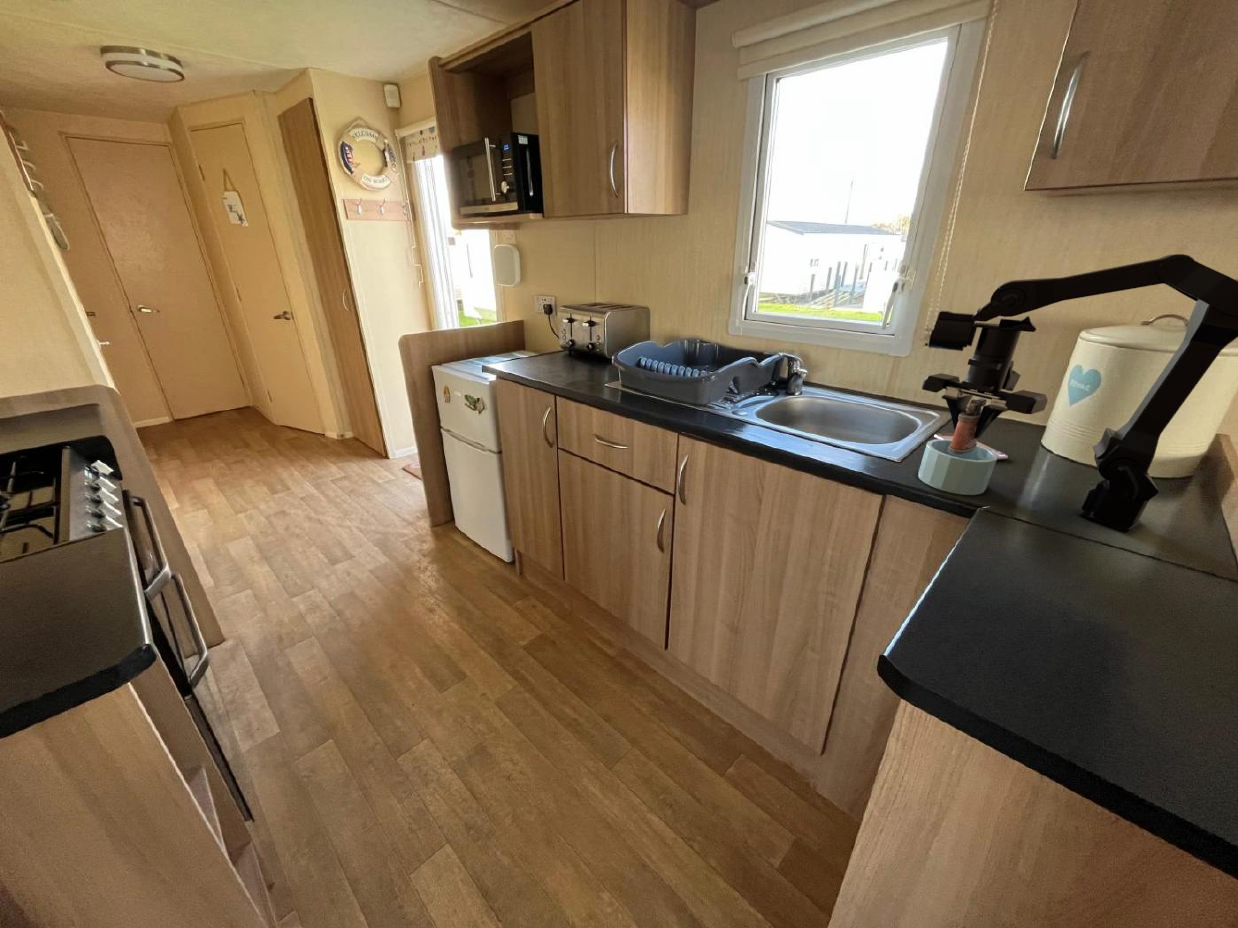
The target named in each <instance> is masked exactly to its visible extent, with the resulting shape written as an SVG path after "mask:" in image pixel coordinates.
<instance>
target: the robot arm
mask: <svg viewBox="0 0 1238 928" xmlns="http://www.w3.org/2000/svg"><path fill="white" fill-rule="evenodd" d="M1157 285H1166V286H1168V287H1170V288H1171V289H1173V290H1174V291H1177V292H1178V293H1180V294H1182V295H1184V296H1185V297H1187V298H1189V299H1191V300H1192V301H1195V305H1194V306H1193V310H1192V312H1191V314H1190V316H1189V319H1188V323H1187V327H1186V331H1185V334H1184V338H1183V340H1182V341H1181V343H1180V345H1179V346H1178V348H1177V349H1176V351H1175V352H1174V354H1173V355H1172V357H1171V358H1170V360H1169V361H1168V363H1167V364H1166V365H1165V367H1164V368H1163V370H1162V371H1161V373H1160V374H1159V376H1158V377H1157V378H1156V380H1155V382H1154V383H1153V385H1152V386H1151V388H1150V389H1149V390H1148V392H1147V393H1146V395H1145V396H1144V398H1143V399H1142V401H1141V402H1140V403H1139V405H1138V407H1137V408H1136V409H1135V411H1134V412H1133V414H1132V415H1131V417H1130V418H1129V420H1128V421H1127V422H1126V423H1125V424H1124V425H1122V426H1121V427H1120V428H1119V429H1117V430H1114V429H1111V428H1109V427H1106V428H1105V429H1104V432H1103V434H1102V436H1101V439H1100V440H1099V441H1098V443H1096V444H1094V445H1093V446H1092V450H1093V453H1094V456H1093V457H1094V461H1095V466H1096V468H1097V471H1098V473H1099V474H1100V476H1101V477H1102V478H1103V479H1102V480H1100V481H1099V482H1097V484H1096V486H1094V487H1092V488H1090V489H1089V490H1088V493H1087V495H1086V498H1085V499H1084V502H1083V503H1082V506H1081V510H1082V511H1080V513H1079V516H1080V517H1083V518H1085V519H1088V520H1091V521H1094V522H1097V523H1100V524H1102V525H1104V526H1108V527H1110V528H1114V529H1116V530H1119V531H1121V532H1125V533H1129V532H1130V531H1131V530H1133V529H1134V528H1136V527H1137V526H1139V525H1140V524H1141V523H1142V520H1140V519H1141V517H1142V515H1143V513H1144V511H1145V509H1146V507H1147V505H1148V504H1149V502H1150V500H1152V499H1153V498H1154V497H1155V496H1156V495H1157V494H1159V489H1158V488H1157V486H1156V484H1155V482H1154V480H1153V479H1152V477H1151V475H1150V474H1149V469H1150V467H1151V465H1152V463H1153V460H1154V458H1155V455H1156V451H1157V448H1158V444H1159V440H1160V437H1161V435H1162V433H1163V432H1164V431H1165V429H1166V428H1167V426H1168V425H1169V424H1170V422H1171V421H1172V420H1173V418H1174V417H1175V415H1176V414H1177V412H1178V411H1180V408H1181V407H1182V406H1183V404H1184V403H1185V401H1187V399H1188V397H1189V396H1190V394H1191V393H1192V392H1193V390H1194V389H1195V388H1196V387H1197V385H1198V384H1199V382H1200V381H1201V379H1202V378H1203V377H1204V375H1205V374H1206V373H1207V371H1208V370H1209V368H1210V367H1211V366H1212V364H1213V363H1214V361H1216V359H1217V358H1218V356H1219V355H1220V353H1221V352H1222V351H1223V350H1224V349H1225V348H1226V347H1227V346H1228V345H1230V344H1231V343H1232V342H1234V341H1235V340H1236V339H1238V278H1233V277H1230V276H1228V275H1226V274H1224V273H1222V272H1220V271H1218V270H1215V269H1214V268H1211V267H1209V266H1207V265H1204V264H1203V263H1200V262H1199V261H1198V260H1197V261H1196V260H1195V258H1194V257H1192V256H1191V255H1189V254H1183V253H1175V254H1168V255H1164V256H1162V257H1159V258H1155V259H1150V260H1145V261H1140V262H1135V263H1129V264H1123V265H1119V266H1114V267H1109V268H1104V269H1100V270H1093V271H1089V272H1084V273H1079V274H1078V273H1077V274H1071V275H1068V276H1063V277H1047V278H1045V277H1044V278H1027V279H1013V280H1009V281H1006V282H1003V283H1002V284H1000V285H999V286H998V287H997V288H996V289H995V290H994V291H993V293H992V295H991V296H990V300H989V302H987V303H986V304H985V305H984V306H983V307H981V308H979V307H978V309H977V310H976V312H975V313H963V312H953V311H950V310H941V311H939V312H938V315H937V318H936V321H935V323H934V326H933V329H932V330H931V332H930V336H929V341H928V348H930V349H938V350H939V349H941V350H947V351H957V352H963V351H964V349H965V348H968V347H972V346H973V343H974V340H975V337H976V334H977V330H978V328H979V329H980V333H979V336H978V339H977V342H976V346H975V349H974V352H973V355H972V357H971V358H968V361H967V365H968V366H969V368H968V372H967V374H966V378H965V380H962V381H961V380H960V376H957V375H952V374H947V373H943V372H942V373H936V374H930V375H928V376H926V377H925V378H924V380H923V383H922V386H921V390H923V391H927V392H931V393H936V394H937V393H939V392H941V391H943V390H945V391H944V394H943V395H942V396H941V399H942V400H945V401H946V405H947V407H948V411H949V413H950V417H951V421H952V426H953V430H954V432H955V430H956V427H957V424H958V421H959V419H958V416H959V414H960V413H961V412H963V411H965V410H967V406H968V403H970V402H971V400H972V398H973V397H977V398H978V397H979V398H984V399H986V400H990V403H989V404H987V405H985V406H983V407H982V408H981V409H982V412H981V415H980V418H979V422H978V425H977V428H976V431H975V437H974V438H976V439H977V438H978V439H979V438H981V437H982V435H983V434H984V433H985V432H986V430H987V429H989V427H990V426H991V425H992V424H993V422H994V421H995V420H996V419H997V418H998V417H999V416H1001V414H1003V413H1006V412H1008V411H1011V412H1015V413H1019V414H1024V415H1033V414H1036V413H1040V412H1043V411H1045V409H1046V407H1047V404H1048V397H1047V395H1046V394H1045V393H1041V392H1035V391H1030V390H1026V389H1021V390H1017V391H1014V390H1015V388H1016V386H1017V384H1018V382H1019V380H1020V378H1021V376H1022V375H1021V374H1020V373H1018V372H1017V371H1016V370H1013V368H1014V363H1015V361H1014V360H1013V357H1014V355H1015V351H1016V349H1017V345H1018V343H1019V339H1020V337H1021V334H1022V332H1027V333H1035V332H1036V331H1037V326H1036V325H1035V324H1034V323H1033V322H1032V320H1031V317H1030V316H1029V315H1026V316H1024V318H1022V319H1010V318H1011V317H1012V318H1013V317H1016V316H1019V315H1022V314H1026V313H1029V312H1033V311H1037V310H1039V309H1042V308H1045V307H1048V306H1051V305H1054V304H1057V303H1061V302H1063V301H1070V300H1075V299H1081V298H1086V297H1092V296H1098V295H1105V294H1110V293H1116V292H1121V291H1127V290H1128V291H1129V290H1135V289H1140V288H1146V287H1151V286H1157ZM998 317H1003V318H1000V320H999V323H990V322H989V323H987V322H988V321H991V320H993V319H996V318H998ZM1008 317H1009V318H1008ZM1007 318H1008V319H1007ZM1013 391H1014V392H1013ZM978 439H977V440H978Z"/></svg>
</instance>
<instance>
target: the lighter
mask: <svg viewBox="0 0 1238 928" xmlns="http://www.w3.org/2000/svg"><path fill="white" fill-rule="evenodd" d="M987 402H988V399H986V398H982V397H979V398H978V399H974V398H973V399H972V398H971V400H970V402H969V403H968V405H967V409H966V410H965V411H963V412H961V413H960V414H959V416H958V419H959V421H958V424H957V427H956V430H955V431H954V432H953V433H954V436H953V439H952V442H951V445H950V446H949V448H948V452H950V453H952V454H956V455H964V454H968V453H970V452H972V451H974V450H975V448H976V445H977V443H976V442H978V439H979V438H977V439H976V438H974V437H975V431H976V428H977V425H978V422H979V418H980V415H981V412H982V409H983V406H986V404H987Z"/></svg>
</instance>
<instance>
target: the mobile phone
mask: <svg viewBox="0 0 1238 928" xmlns="http://www.w3.org/2000/svg"><path fill="white" fill-rule="evenodd" d="M954 433H955V432H953V433H935V434H933V435H934V436H933V437H934V439H949V440H952V439H953V436H954ZM976 443H977V445H979V446H982V447H984V448H986V449H989V450H991V451H993V452H994V453H995V454H996V455H997V461H999V460H1007V459H1008V457H1009V456H1008V454H1006V453H1004V452H1002V451H999V450H997V449H995V448H992V447H990V446H988V445H986V444H984V443H982V442H980V441H977V442H976Z"/></svg>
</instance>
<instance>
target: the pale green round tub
mask: <svg viewBox="0 0 1238 928" xmlns="http://www.w3.org/2000/svg"><path fill="white" fill-rule="evenodd" d="M951 442H952V440H949V439H936V438H934V439H931V440H929V441H927V443H926V446H925V449H924V451H923V452H924V453H923V456H922V459H921V463H920V466H919V469H918V473H917V477H918V478H919V480H920V481H921V482H923V483H924V484H925V485H927V486H930V487H932V488H934V489H937V490H940V491H943V492H947V493H951V494H956V495H964V496H977V495H980V494H983V493H985V492H986V490H987V488H988V485H989V482H990V479H991V477H992V474H993V472H994V469H995V466H996V463H997V461H998V460H997V455H996V454H995V453H994V452H993V451H991V450H989V449H986V448H984V447H982V446H979V445H976V448H975V450H974V451H972V452H970V453H968V454H964V455H956V454H952V453H950V452H948V448H949V446H950V445H951Z"/></svg>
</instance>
